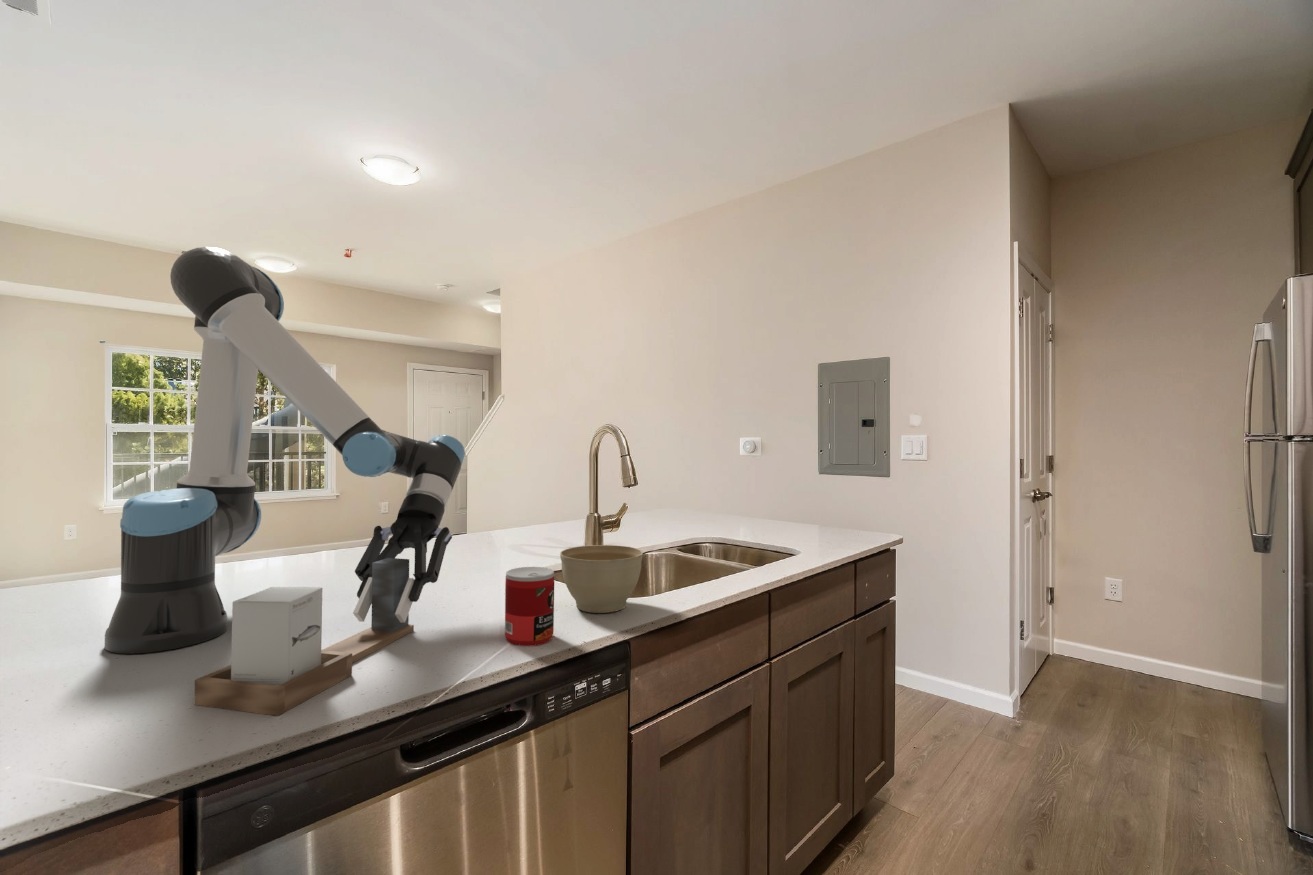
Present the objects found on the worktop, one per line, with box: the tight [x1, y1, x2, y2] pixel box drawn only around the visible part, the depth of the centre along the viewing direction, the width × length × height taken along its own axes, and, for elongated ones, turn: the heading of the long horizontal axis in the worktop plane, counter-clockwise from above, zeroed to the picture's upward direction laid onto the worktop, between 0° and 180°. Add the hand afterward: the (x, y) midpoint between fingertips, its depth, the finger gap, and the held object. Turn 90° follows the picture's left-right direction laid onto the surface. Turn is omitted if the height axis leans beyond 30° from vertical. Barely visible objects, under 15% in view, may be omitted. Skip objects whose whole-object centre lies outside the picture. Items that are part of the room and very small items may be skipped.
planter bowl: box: [559, 544, 644, 614], centre depth 114 cm, size 16×16×11 cm
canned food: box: [504, 566, 555, 647], centre depth 96 cm, size 8×8×11 cm
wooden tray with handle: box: [194, 557, 415, 717], centre depth 84 cm, size 12×30×12 cm, turn 168°
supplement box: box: [230, 586, 323, 686], centre depth 75 cm, size 7×7×13 cm
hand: (379, 617), depth 93 cm, fingers open, 6 cm apart
